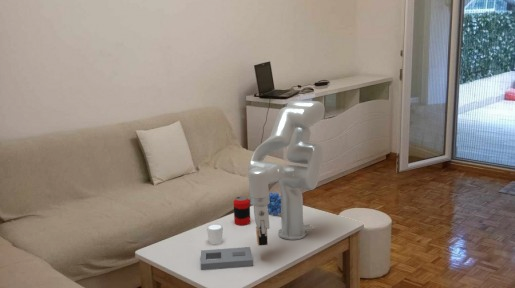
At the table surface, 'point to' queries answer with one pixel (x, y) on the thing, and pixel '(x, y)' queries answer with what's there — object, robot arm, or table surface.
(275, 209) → the grapes
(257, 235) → the block
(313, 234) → the table surface
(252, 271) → the table surface
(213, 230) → the white short cylinder
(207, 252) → the socket plate
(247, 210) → the soda can
